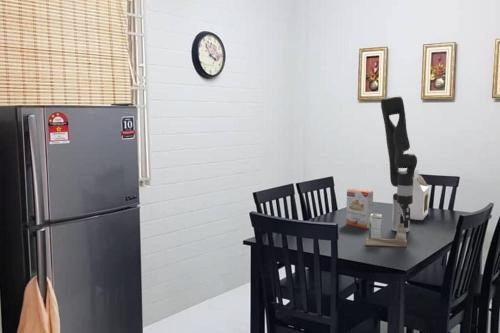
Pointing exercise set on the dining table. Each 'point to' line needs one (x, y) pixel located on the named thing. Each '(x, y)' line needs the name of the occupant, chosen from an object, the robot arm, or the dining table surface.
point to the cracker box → (359, 207)
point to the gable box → (419, 198)
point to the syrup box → (375, 226)
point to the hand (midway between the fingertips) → (404, 225)
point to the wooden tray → (390, 242)
